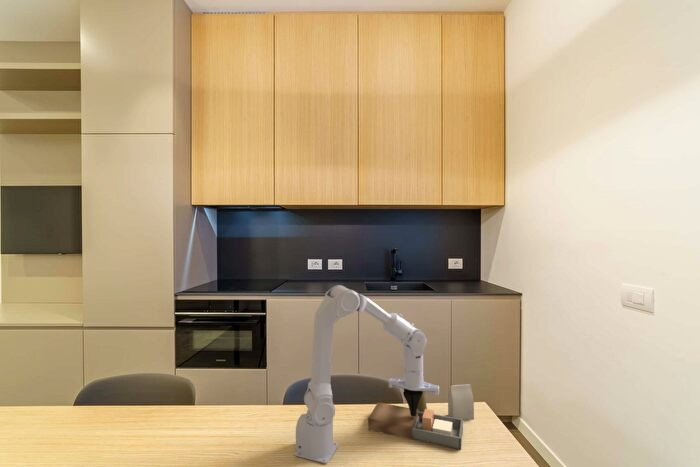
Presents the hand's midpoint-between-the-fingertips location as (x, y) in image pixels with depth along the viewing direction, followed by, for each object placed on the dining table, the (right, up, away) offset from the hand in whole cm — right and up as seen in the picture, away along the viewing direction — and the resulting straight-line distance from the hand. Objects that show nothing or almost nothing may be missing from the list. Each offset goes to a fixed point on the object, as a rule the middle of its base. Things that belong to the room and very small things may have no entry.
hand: (413, 414), depth 100 cm
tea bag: (+16, -5, +7) cm, 18 cm away
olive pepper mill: (+3, -5, +9) cm, 11 cm away
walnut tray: (-6, -4, +2) cm, 7 cm away
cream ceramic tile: (+8, -1, -3) cm, 8 cm away
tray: (+7, -4, -3) cm, 8 cm away
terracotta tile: (+3, -2, -1) cm, 3 cm away
